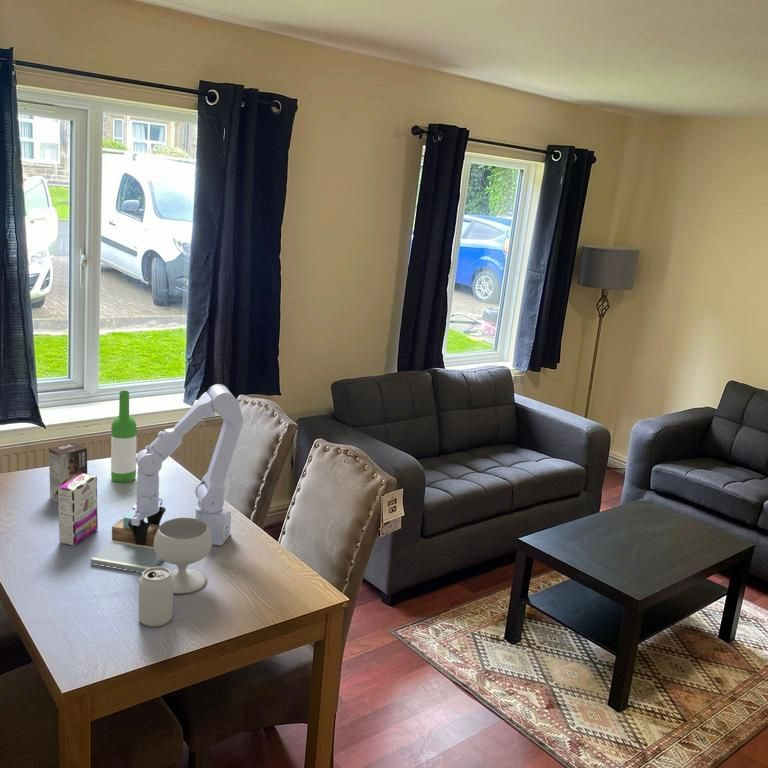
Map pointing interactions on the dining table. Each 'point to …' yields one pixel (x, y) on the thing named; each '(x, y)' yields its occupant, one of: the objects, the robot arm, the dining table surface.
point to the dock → (127, 556)
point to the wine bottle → (123, 443)
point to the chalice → (184, 551)
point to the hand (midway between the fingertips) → (146, 538)
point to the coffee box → (66, 465)
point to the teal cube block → (127, 519)
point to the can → (155, 596)
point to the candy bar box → (77, 509)
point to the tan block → (128, 536)
